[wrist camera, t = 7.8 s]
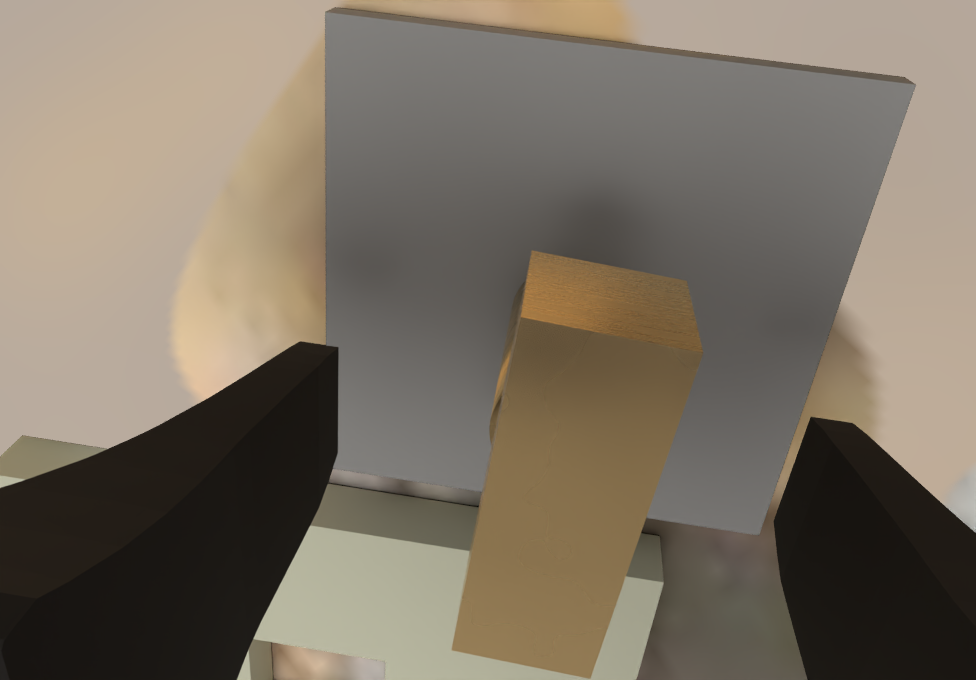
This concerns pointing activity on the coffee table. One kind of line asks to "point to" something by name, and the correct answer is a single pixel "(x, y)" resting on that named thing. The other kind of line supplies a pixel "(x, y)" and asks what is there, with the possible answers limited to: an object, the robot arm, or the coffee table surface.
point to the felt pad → (586, 231)
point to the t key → (573, 457)
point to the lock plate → (391, 584)
